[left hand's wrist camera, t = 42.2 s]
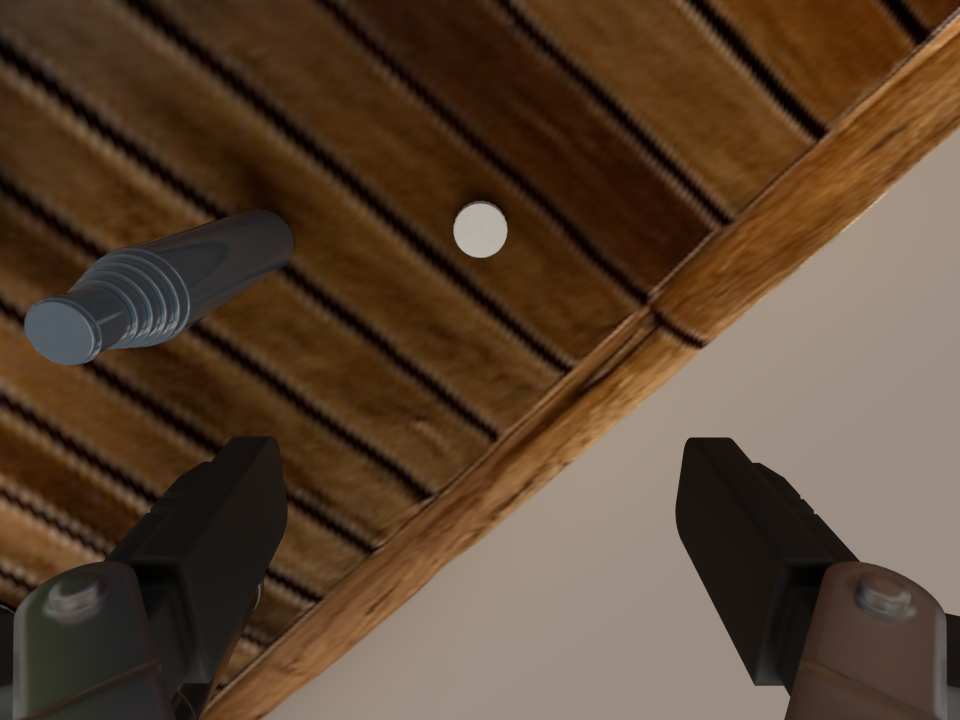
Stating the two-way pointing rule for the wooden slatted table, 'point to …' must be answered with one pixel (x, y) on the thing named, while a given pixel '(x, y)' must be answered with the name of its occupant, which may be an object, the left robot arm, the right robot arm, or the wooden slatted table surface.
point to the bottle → (159, 287)
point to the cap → (480, 229)
